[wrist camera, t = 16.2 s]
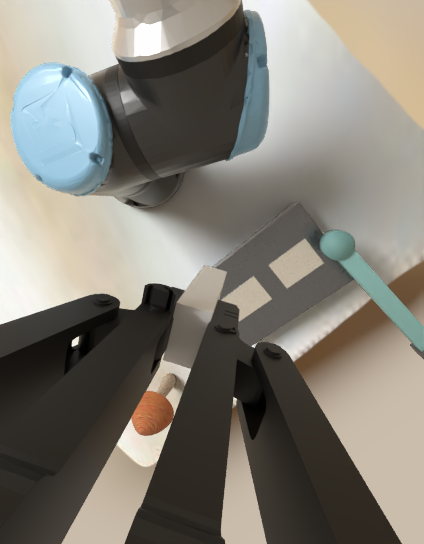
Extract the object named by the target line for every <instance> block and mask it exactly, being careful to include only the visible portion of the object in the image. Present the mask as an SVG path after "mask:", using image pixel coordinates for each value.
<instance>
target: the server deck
mask: <svg viewBox="0 0 424 544" xmlns="http://www.w3.org/2000/svg"><path fill="white" fill-rule="evenodd" d="M325 233H326V232H323V231H321V230H320V229H319V228H318V227H317V225H316V224H315V223H314V221H313V220H312V219H311V217H310V216H309V215H308V213H307V212H306V211H305V209H304V208H303V207H302V205H301V204H300V203H299V202H294V203H293V204H292V205H290V206H289V207H288V208H287V209H285V210H284V211H283V212H281V213H280V214H279V215H278V216H276V217H275V218H274V219H273V220H271V221H270V222H269V223H267V224H266V225H265V226H264V227H262V228H261V229H260V230H259V231H257V232H256V233H255V234H254V235H252V236H251V237H250V238H248V239H247V240H246V241H245V242H243V243H242V244H241V245H240V246H238V247H237V248H236V249H234V250H233V251H232V252H231V253H229V254H228V255H227V256H226V257H224V258H223V259H222V260H220V261H219V262H218V263H217V264H215V265H214V266H213V268H216V269H220V270H223V271H227V274H226V277H225V281H224V285H223V288H222V292H221V295H220V299H219V300H221V301H224V302H228V303H231V304H234V305H237V307H238V308H239V310H240V311H239V320H238V330H239V338H240V339H241V340H242V341H243V342H244V343H246V344H248V345H249V346H252V345H253V344H255V343H256V342H258V341H260V340H261V339H263V338H264V337H266V336H267V335H269V334H270V333H272V332H273V331H275V330H276V329H278V328H280V327H281V326H283V325H284V324H286V323H287V322H289V321H290V320H292V319H293V318H295V317H296V316H298V315H300V314H301V313H303V312H304V311H306V310H307V309H309V308H310V307H312V306H313V305H315V304H316V303H318V302H320V301H321V300H323V299H324V298H326V297H327V296H329V295H330V294H332V293H333V292H335V291H337V290H338V289H340V288H341V287H343V286H344V285H346V284H347V283H349V282H350V281H352V280H353V279H354V278H353V277H352V276H351V275H350V274H349V273H348V272H347V271H346V269H345V268H344V267H343V266H342V265H341V264H340V263H339V262H338V261H337V260H332V259H330V258H329V257H327V256H326V255H324V254H323V253H322V251H321V250H320V245H319V244H320V239H321V237H322V236H323V235H324V234H325Z"/></svg>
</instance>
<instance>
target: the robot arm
mask: <svg viewBox="0 0 424 544" xmlns="http://www.w3.org/2000/svg"><path fill="white" fill-rule="evenodd" d="M110 3H111V5H112V7H113V9H114V11H115V17H116V23H115V29H114V34H113V40H112V49H113V52H114V54H115V56H116V58H117V60H118V62H119V64H117V65H114V66H112V67H109V68H107V69H104V70H101V71H99V72H96V73H94V74H91V75H88V76H87V75H86V74H85V73H84V72H82V71H81V70H79V69H78V68H74V67H71V66H68V65H65V64H61V63H44V64H41V65H38V66H36V67H35V68H33V69H32V70H30V71H29V72H28V73H27V74H26V75H25V76H24V77H23V79H22V80H21V81H20V83H19V85H18V86H17V89H16V91H15V94H14V97H13V100H14V106H13V109H12V111H11V129H12V135H13V139H14V143H15V146H16V148H17V151H18V153H19V156H20V158H21V159H22V161H23V163H24V164H25V166H26V167H27V169H28V170H29V171H30V173H31V174H32V175H33V176H34V177H35V178H36V179H37V180H39V181H41V182H42V183H43V184H45V185H46V186H47V187H49V188H51V189H53V190H55V191H59V192H63V193H68V194H71V195H75V196H86V195H98V196H114V197H115V198H116V199H118V200H119V201H121V202H122V203H124V204H127V205H129V206H133V207H138V208H149V207H155V206H158V205H161V204H163V203H165V202H166V201H168V200H169V199H170V198H171V197H172V196H173V195H174V194H175V193H176V191H177V190H178V188H179V187H180V185H181V182H182V180H183V176H184V171H188V170H191V169H195V168H198V167H201V166H205V165H208V164H212V163H215V162H218V161H222V160H226V161H228V160H230V159H232V158H234V157H235V156H237V155H240V154H243V153H246V152H249V151H252V150H254V149H255V148H257V147H258V146H259V144H260V143H261V142H262V141H263V139H264V137H265V134H266V130H267V124H268V115H269V71H268V67H267V65H266V64H267V45H266V37H265V32H264V27H263V23H262V20H261V17H260V15H259V14H258V13H257V12H256V11H250V10H245V11H243V5H242V0H110ZM226 274H227V271H223V270H220V269H216V268H213V267H209V266H206V265H204V266H203V268H202V269H201V270H200V272H199V273H198V274H197V276H196V277H195V278H194V280H193V281H192V282H191V284H190V285H189V286H188V288H187V289H186V290H185V291H184V290H181V289H178V288H174V287H169V286H166V285H162V284H154V283H153V284H147V285H145V288H144V293H143V298H142V303H141V305H140V306H139V307H138V308H136V309H135V310H128V309H120V308H119V306H120V301H119V300H118V299H117V298H115V297H113V296H110V295H108V294H106V295H105V294H94V295H89V296H86V297H83V298H80V299H77V300H74V301H71V302H68V303H65V304H62V305H59V306H56V307H53V308H50V309H47V310H44V311H41V312H38V313H35V314H32V315H29V316H25V317H22V318H19V319H16V320H13V321H10V322H7V323H4V324H1V325H0V544H61V543H62V541H63V539H64V538H65V536H66V534H67V532H68V530H69V528H70V526H71V525H72V523H73V521H74V519H75V518H76V516H77V514H78V512H79V511H80V509H81V507H82V505H83V503H84V502H85V500H86V498H87V496H88V494H89V493H90V491H91V489H92V487H93V485H94V483H95V482H96V480H97V478H98V476H99V475H100V473H101V471H102V469H103V467H104V466H105V464H106V462H107V460H108V458H109V457H110V455H111V453H112V451H113V449H114V448H115V446H116V444H117V442H118V440H119V439H120V437H121V435H122V433H123V431H124V430H125V428H126V426H127V424H128V422H129V421H130V419H131V417H132V415H133V413H134V411H135V410H136V408H137V406H138V404H139V402H140V401H141V399H142V397H143V395H144V393H145V392H146V390H147V388H148V386H149V384H150V383H151V381H152V379H153V377H154V375H155V374H156V372H157V370H158V368H159V366H160V362H161V358H162V355H163V353H164V352H165V353H164V358H163V360H165V361H169V362H172V363H175V364H178V365H181V366H184V367H187V368H191V372H190V374H189V377H188V380H187V383H186V385H185V388H184V391H183V394H182V396H181V399H180V402H179V405H178V407H177V410H176V413H175V416H174V418H173V421H172V424H171V427H170V429H169V432H168V435H167V438H166V440H165V443H164V446H163V448H162V451H161V454H160V457H159V459H158V462H157V465H156V468H155V471H154V473H153V476H152V479H151V482H150V484H149V487H148V490H147V493H146V495H145V498H144V500H143V503H142V505H141V507H140V508H139V509H138V511H137V513H136V516H135V518H134V521H133V523H132V526H131V528H130V531H129V533H128V536H127V539H126V541H125V544H225V540H224V539H223V538H222V537H221V518H222V509H223V499H224V488H225V477H226V468H227V457H228V446H229V436H230V425H231V415H232V406H233V397H235V398H236V399H237V404H236V406H237V411H238V415H239V420H240V424H241V429H242V433H243V438H244V442H245V447H246V451H247V456H248V460H249V465H250V469H251V474H252V478H253V483H254V487H255V492H256V496H257V501H258V505H259V510H260V514H261V519H262V523H263V528H264V532H265V537H266V541H267V544H402V543H401V542H400V540H399V538H398V537H397V535H396V533H395V531H394V530H393V528H392V526H391V525H390V523H389V521H388V520H387V518H386V516H385V515H384V513H383V511H382V510H381V508H380V506H379V505H378V503H377V501H376V500H375V498H374V496H373V495H372V493H371V491H370V490H369V488H368V486H367V485H366V483H365V481H364V480H363V478H362V476H361V475H360V473H359V471H358V470H357V468H356V466H355V465H354V463H353V461H352V460H351V458H350V456H349V455H348V453H347V451H346V449H345V448H344V446H343V445H342V443H341V441H340V439H339V438H338V436H337V434H336V433H335V431H334V430H333V428H332V426H331V424H330V423H329V421H328V419H327V418H326V416H325V414H324V413H323V411H322V409H321V408H320V406H319V405H318V403H317V401H316V399H315V398H314V396H313V394H312V393H311V391H310V389H309V388H308V386H307V385H306V383H305V381H304V379H303V378H302V376H301V374H300V373H299V371H298V369H297V368H296V366H295V364H294V363H293V361H292V359H291V358H290V356H289V355H288V353H287V352H286V351H285V350H283V349H282V348H281V347H280V346H278V345H276V344H273V343H272V344H271V343H268V342H261V343H258V344H257V345H256V347H255V348H253V347H251V346H249V345H248V344H246V343H244V342H243V341H242V340H241V339H240V338H239V330H238V320H239V311H240V310H239V308H238V307H237V305H234V304H231V303H228V302H224V301H221V300H219V299H220V295H221V292H222V288H223V285H224V281H225V277H226ZM78 336H79V342H78V345H76V346H74V347H72V340H74V339H75V338H76V337H78Z"/></svg>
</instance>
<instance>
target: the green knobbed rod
mask: <svg viewBox="0 0 424 544" xmlns="http://www.w3.org/2000/svg"><path fill="white" fill-rule="evenodd" d="M319 245H320V250H321V251H322V253H323V254H324V255H326V256H327V257H329V258H330V259H332V260H337V261H338V262H339V263H340V264H341V265H342V266H343V267H344V268H345V269H346V271H347V272H348V273H349V274H350V275H351V276H352V277H353V278H354V279H355V281H356V282H357V283H358V284H359V285H360V286H361V287H362V288H363V289H364V290H365V292H366V293H367V294H368V295H369V296H370V297H371V298H372V299H373V300H374V302H375V303H376V304H377V305H378V306H379V307H380V308H381V309H382V310H383V311H384V313H385V314H386V315H387V316H388V317H389V318H390V319H391V320H392V321H393V322H394V324H395V325H396V326H397V327H398V328H399V329H400V330H401V331H402V332H403V334H404V335H405V336H406V337H407V338H408V339H409V340H410V341H411V342H412V344H410V346H411V347H412V348H413V349H414V350H415V351H416V352H417V353H418V354H419V355H420V356H421V357H422V358H423V359H424V327H423V326H422V325H421V323H420V322H419V321H418V320H417V319H416V318H415V317H414V316H413V315H412V313H410V311H409V310H408V309H407V308H406V307H405V305H404V304H403V303H402V302H401V301H400V300H399V299H398V298H397V297H396V295H395V294H394V293H393V292H392V291H391V290H390V289H389V288H388V286H387V285H386V284H385V283H384V282H383V281H382V280H381V279H380V278H379V276H378V275H377V274H376V273H375V272H374V271H373V270H372V269H371V267H370V266H369V265H368V264H367V263H366V262H365V261H364V260H363V258H362V257H361V256H360V255H359V254H358V253H357V252H356V251H355V250H354V249H355V241H354V238H353V237H352V236H351V235H350V234H349V233H347V232H344V231H341V230H330V231H328V232H326V233H325V234H324V235H323V236H322V237H321V239H320V244H319Z"/></svg>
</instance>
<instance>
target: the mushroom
mask: <svg viewBox="0 0 424 544" xmlns="http://www.w3.org/2000/svg"><path fill="white" fill-rule="evenodd" d="M175 382H176V377H175V376H174V375H173V374H170V373H169V374H167V375H166V376H165V377H164V378H163V380H162V382H161V385H160V387H159V389H158V391H157V393H156V392H152V391H146V392H145V393H144V395H143V397H142V399H141V401H140V402H139V404H138V406H137V408H136V410H135V411H134V413H133V415H132V417H131V418H132V423H133V426H134V428H135V430H136V431H137V432H138V433H139V434H140V435H144V436H148V435H153V434H156V433H158V432H160V431H162V430H163V429H165V428H166V427H167V426H168V425H169V424H170V423H171V422H172V420H173V416H174V411H173V408H172V405H171V404H170V402H169V401H168V400H167V399H166V398H165V397H166V396H167V394H168V393H169V392H170V391H171V389H172V388H173V387H174V385H175Z"/></svg>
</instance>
